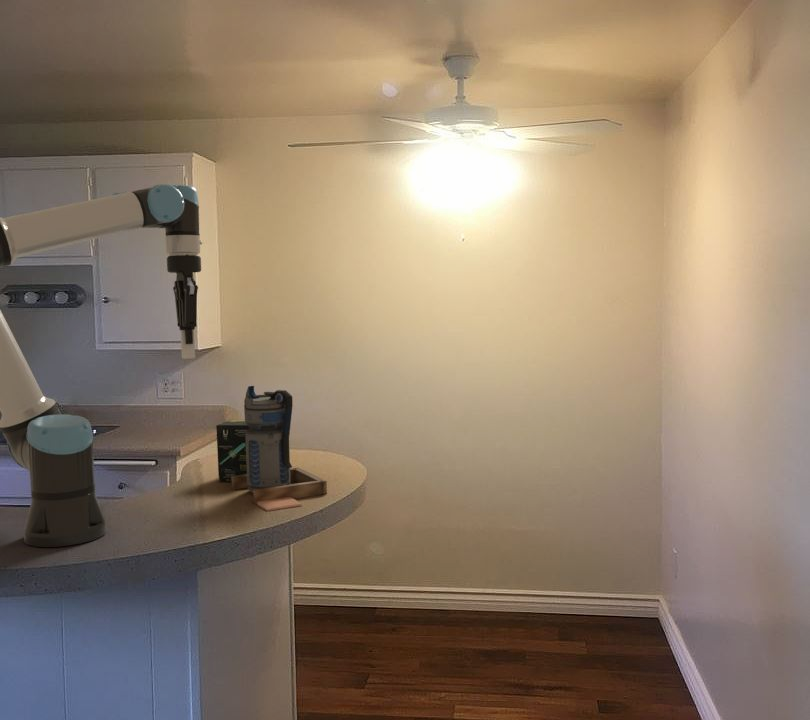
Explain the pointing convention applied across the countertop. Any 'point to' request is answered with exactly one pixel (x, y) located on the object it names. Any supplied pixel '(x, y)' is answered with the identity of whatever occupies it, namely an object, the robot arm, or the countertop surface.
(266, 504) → the tile
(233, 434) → the tampon box
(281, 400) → the beverage bottle
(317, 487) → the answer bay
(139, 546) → the countertop surface
